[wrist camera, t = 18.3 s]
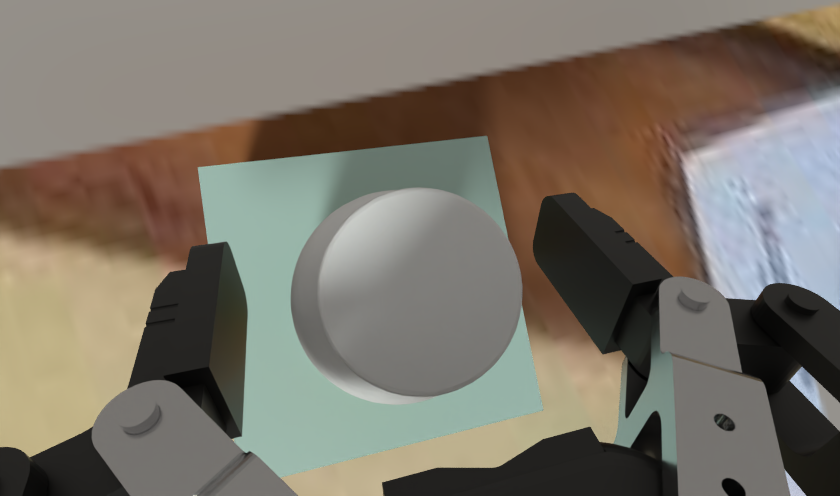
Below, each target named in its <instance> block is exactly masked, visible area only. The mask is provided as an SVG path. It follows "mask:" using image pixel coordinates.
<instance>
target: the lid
mask: <svg viewBox="0 0 840 496" xmlns="http://www.w3.org/2000/svg"><path fill="white" fill-rule="evenodd" d="M198 172H199V180H200V187H201V195H202V202H203V210H204V217H205V225H206V232H207V240H208V244H212V243H219V242H228V244H229V246H230V248H231V251H232V254H233V257H234V260H235V263H236V266H237V269H238V272H239V275H240V278H241V281H242V284H243V287H244V290H245V294H246V300H247V308H248V320H247V341H246V363H245V384H244V406H243V427H242V437H237V438H234V442H235V443H236V444H237V445H238V446H239V447H240V448H241V449H242V450H243V451H244V452H246V453H247V452H248V451H250V452H252V453H254V454H255V455H257V456H258V457H259V458H260V459H261V460H262V461H263V462H264V463H265V464H266V465H267V466H268V467H269V468H270V469H272V470H273V471H274V472H275V473H276V474H277V475H278V476H279V477H284V476H288V475H292V474H296V473H300V472H304V471H308V470H312V469H316V468H320V467H323V466H327V465H331V464H335V463H339V462H343V461H347V460H351V459H355V458H359V457H363V456H366V455H370V454H374V453H378V452H382V451H386V450H390V449H394V448H398V447H402V446H406V445H410V444H413V443H417V442H421V441H425V440H429V439H433V438H437V437H441V436H445V435H449V434H453V433H457V432H460V431H464V430H468V429H472V428H476V427H480V426H484V425H488V424H492V423H496V422H500V421H503V420H507V419H511V418H515V417H519V416H523V415H527V414H531V413H535V412H539V411H543V406H542V401H541V396H540V391H539V387H538V382H537V377H536V372H535V367H534V362H533V357H532V352H531V348H530V343H529V338H528V333H527V328H526V323H525V318H524V313H523V309H522V305H521V313H520V317H519V321H518V324H517V328H516V331H515V333H514V336H513V338H512V340H511V342H510V344H509V345H508V347H507V349H506V350H505V352H504V353H503V355H502V356H501V357H500V359H499V360H498V361H497V363H496V364H495V365H494V366H493V367H492V368H491V369H489V370H488V371H487V372H486V373H485V374H484V375H483V376H481V377H480V378H478V379H477V380H475V381H474V382H472V383H471V384H469V385H467V386H465V387H463V388H461V389H459V390H456V391H453V392H450V393H447V394H443V395H439V396H437V397H434V398H432V399H429V400H425V401H422V402H418V403H412V404H402V405H389V404H381V403H374V402H370V401H367V400H364V399H361V398H358V397H355V396H353V395H351V394H349V393H347V392H345V391H343V390H342V389H340V388H339V387H337V386H336V385H334V384H333V383H331V382H330V381H329V380H328V379H327V378H326V377H324V376H323V375H322V374H321V373H320V372H319V371H318V369H317V368H316V367H315V366H314V365H313V364H312V362H311V361H310V359H309V358H308V357H307V355H306V353H305V351H304V350H303V348H302V346H301V344H300V341H299V339H298V336H297V333H296V331H295V327H294V323H293V318H292V312H291V285H292V279H293V274H294V270H295V266H296V263H297V261H298V258H299V255H300V253H301V251H302V249H303V247H304V245H305V243H306V242H307V240H308V239H309V237H310V236H311V234H312V233H313V232H314V230H315V229H316V228H317V227H318V226H319V225H320V224H321V222H322V221H323V220H324V219H326V218H327V217H328V216H329V215H330V214H331V213H332V212H334V211H335V210H337V209H338V208H340V207H341V206H343V205H345V204H347V203H349V202H350V201H353V200H355V199H357V198H359V197H362V196H364V195H367V194H371V193H375V192H381V191H388V190H400V189H405V188H417V187H421V188H432V189H439V190H444V191H447V192H450V193H453V194H456V195H458V196H460V197H462V198H465V199H467V200H469V201H470V202H472V203H474V204H475V205H477V206H478V207H480V208H481V209H482V210H484V211H485V212H486V213H487V214H488V215H489V216H490V217H491V218H492V219H493V220H494V221H495V222H496V223H497V224H498V225H499V227H500V228H501V230H502V231H503V232H504V234H505V235H506V237H507V239H508V235H507V230H506V226H505V221H504V216H503V211H502V206H501V201H500V196H499V191H498V187H497V182H496V177H495V172H494V167H493V162H492V157H491V152H490V147H489V143H488V138H487V136H480V137H471V138H462V139H453V140H444V141H435V142H426V143H416V144H407V145H398V146H389V147H380V148H371V149H362V150H353V151H344V152H334V153H325V154H316V155H307V156H298V157H289V158H280V159H271V160H261V161H252V162H243V163H234V164H225V165H216V166H207V167H198Z"/></svg>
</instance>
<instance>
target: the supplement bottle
mask: <svg viewBox="0 0 840 496" xmlns="http://www.w3.org/2000/svg"><path fill="white" fill-rule="evenodd" d="M521 305H522V280H521V273H520V269H519V265H518V261H517V258H516V255H515V252H514V250H513V248H512V246H511V244H510V242H509V240H508V239H507V237H506V235H505V234H504V232H503V231H502V230H501V228H500V227H499V225H498V224H497V223H496V222H495V221H494V220H493V219H492V218H491V217H490V216H489V215H488V214H487V213H486V212H485V211H484V210H482V209H481V208H480V207H478V206H477V205H475V204H474V203H472V202H470V201H469V200H467V199H465V198H462V197H460V196H458V195H456V194H453V193H450V192H447V191H444V190H439V189H432V188H421V187H417V188H405V189H400V190H388V191H381V192H375V193H371V194H367V195H364V196H362V197H359V198H357V199H355V200H353V201H350V202H349V203H347V204H345V205H343V206H341V207H340V208H338V209H337V210H335V211H334V212H332V213H331V214H330V215H329V216H328V217H327V218H326V219H324V220H323V221H322V222H321V224H320V225H319V226H318V227H317V228H316V229H315V230H314V232H313V233H312V234H311V236H310V237H309V239H308V240H307V242H306V243H305V245H304V247H303V249H302V251H301V253H300V255H299V258H298V261H297V263H296V266H295V270H294V274H293V279H292V285H291V312H292V318H293V323H294V327H295V331H296V333H297V336H298V339H299V341H300V344H301V346H302V348H303V350H304V351H305V353H306V355H307V357H308V358H309V359H310V361H311V362H312V364H313V365H314V366H315V367H316V368H317V369H318V371H319V372H320V373H321V374H322V375H323V376H324V377H326V378H327V379H328V380H329V381H330V382H331V383H333V384H334V385H336V386H337V387H339V388H340V389H342V390H343V391H345V392H347V393H349V394H351V395H353V396H355V397H358V398H361V399H364V400H367V401H370V402H374V403H381V404H389V405H402V404H412V403H418V402H422V401H425V400H429V399H432V398H434V397H437V396H439V395H443V394H447V393H450V392H453V391H456V390H459V389H461V388H463V387H465V386H467V385H469V384H471V383H472V382H474V381H475V380H477V379H478V378H480V377H481V376H483V375H484V374H485V373H486V372H487V371H488V370H489V369H491V368H492V367H493V366H494V365H495V364H496V363H497V361H498V360H499V359H500V357H501V356H502V355H503V353H504V352H505V350H506V349H507V347H508V345H509V344H510V342H511V340H512V338H513V336H514V333H515V331H516V328H517V324H518V321H519V317H520V313H521Z"/></svg>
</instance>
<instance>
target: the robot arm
mask: <svg viewBox="0 0 840 496" xmlns="http://www.w3.org/2000/svg"><path fill="white" fill-rule="evenodd" d="M533 252H534V257H535V259H536V262H537V264H538V265H539V267H540V268H541V269H542V271H543V272H544V273H545V275H546V276H547V278H548V279H549V280H550V282H551V283H552V285H553V286H554V287H555V289H556V290H557V292H558V293H559V294H560V296H561V297H562V298H563V300H564V301H565V303H566V304H567V305H568V307H569V308H570V310H571V311H572V312H573V314H574V315H575V317H576V318H577V319H578V321H579V322H580V323H581V325H582V326H583V328H584V329H585V330H586V332H587V333H588V335H589V336H590V337H591V339H592V340H593V342H594V343H595V344H596V346H597V347H598V348H599V350H600V351H601V353H602V354H607V353H611V352H615V351H620V350H622V352H623V353H624V354H625V356H626V357H625V359H624V361H623V363H622V372H621V388H620V404H619V419H618V429H617V434H616V438H615V441H614V444H610V443H603V442H599V441H598V439H597V437H596V436H595V434H594V432H593V431H592V429H591V427H587V428H583V429H580V430H576V431H572V432H568V433H565V434H561V435H557V436H554V437H550V438H546V439H543V440H541V441H540V442H538V443H536V444H535V445H533V446H532V447H530V448H528V449H527V450H525V451H524V452H522V453H521V454H519V455H517V456H516V457H514V458H513V459H511V460H509V461H508V462H506V463H505V464H503V465H501V466H499V467H496V468H435V469H431V470H427V471H423V472H420V473H416V474H412V475H408V476H405V477H401V478H397V479H394V480H390V481H386V482H382V486H383V496H790V492H789V488H788V483H787V479H786V474H785V470H786V472H787V473H788V474H789V475H790V476H791V478H792V479H793V480H794V481H795V482H796V484H797V485H798V486H799V487H800V488H801V490H802V491H803V492H804V493H805V494H806V496H840V431H839V430H837V428H836V427H835V426H833V424H832V423H831V422H830V421H829V420H828V419H827V418H826V417H825V416H824V415H823V414H822V413H821V412H820V411H819V410H818V409H817V408H816V407H815V406H814V405H813V404H812V403H811V402H810V401H809V400H808V399H807V398H806V397H805V396H804V395H803V394H802V393H801V392H800V391H799V390H798V389H797V388H796V387H795V386H794V385H793V384H792V383H791V382H790V381H789V380H790V379H791V378H792V377H793V376H794V375H795V374H796V372H797V371H798V370H799V369H800V368H801V367H803V368H804V369H805V370H806V371H807V372H808V373H810V374H811V375H812V376H813V377H814V378H815V379H816V380H817V381H818V382H819V383H820V384H821V385H822V386H823V387H824V388H825V389H826V390H828V392H829V393H831V394H832V396H834V397H835V398H836V399H837V400H838V401H839V402H840V311H839V310H838V309H837V308H835V307H834V306H833V305H832V304H830V303H829V302H828V301H826V300H825V299H824V298H822V297H821V296H819V295H817V294H815V293H813V292H811V291H809V290H807V289H805V288H802V287H799V286H795V285H791V284H785V283H775V284H770V285H768V286H766V287H765V288H764V289H763V291H762V292H761V294H760V295H759V297H758V298H757V300H743V299H728V298H725V297H724V296H723V295H722V294H721V293H720V292H719V291H717V290H716V289H715V288H713V287H711V286H710V285H708V284H706V283H704V282H701V281H699V280H696V279H692V278H687V277H673V276H672V275H671V274H670V273H669V272H668V271H667V270H666V269H665V268H664V267H663V266H662V265H661V264H660V263H658V262H657V261H656V260H655V259H654V258H653V257H652V256H651V255H650V254H649V253H648V252H647V251H646V250H645V249H644V248H643V247H642V246H641V245H640V244H639V243H638V242H636V243H635V241H634V239H633V238H632V237H631V236H630V235H629V234H628V233H627V232H624V229H623V228H622V227H621V226H620V225H619V224H618V223H617V222H616V221H615V220H613V219H612V218H611V217H609V216H607V215H606V214H604V213H602V212H600V211H598V210H596V209H594V208H590V207H589V206H588V205H587V204H586V203H585V202H584V201H583V200H582V199H581V198H580V197H579V196H578V195H577V194H575V193H567V194H560V195H553V196H547V197H545V198H544V199H543V201H542V204H541V208H540V213H539V217H538V222H537V227H536V231H535V236H534V240H533ZM150 309H151V312H149V314H148V317H147V321H146V327H145V328H144V332H143V335H142V339H141V342H140V346H139V350H138V353H137V357H136V360H135V364H134V367H133V371H132V375H131V378H130V382H129V385H128V388H127V390H125V391H123V392H122V393H120V394H119V395H117V396H116V397H115V398H113V399H112V400H111V401H110V402H109V403H108V404H107V405H106V406H105V407H104V409H103V410H102V411H101V412H100V414H99V415H98V417H97V419H96V421H95V423H94V426H93V427H92V428H90V429H88V430H87V431H85V432H83V433H81V434H79V435H77V436H75V437H73V438H71V439H69V440H66V441H64V442H62V443H60V444H58V445H56V446H54V447H51V448H49V449H47V450H45V451H43V452H41V453H39V454H36V455H34V456H32V457H28V456H27V455H26V454H25V453H24V452H22V451H21V450H19V449H16V448H11V447H0V496H298V495H297V494H296V493H295V492H294V491H293V490H292V489H291V488H290V487H289V486H288V485H287V484H286V483H285V482H284V481H283V480H282V479H281V478H280V477H279V476H278V475H277V474H276V473H275V472H274V471H273V470H272V469H270V468H269V467H268V466H267V465H266V464H265V463H264V462H263V461H262V460H261V459H260V458H259V457H258V456H257V455H255V454H254V453H252V452H250V451H248V452H247V453H246V452H244V451H243V450H242V449H241V448H240V447H239V446H238V445H237V444H236V443H235V442H234V441H233V440H232V439H233V438H237V437H242V427H243V406H244V384H245V363H246V341H247V320H248V308H247V300H246V294H245V290H244V287H243V284H242V281H241V278H240V275H239V272H238V269H237V266H236V263H235V260H234V257H233V254H232V251H231V248H230V246H229V244H228V242H219V243H212V244H205V245H198V246H192V247H191V249H190V252H189V257H188V262H187V266H186V270H180V271H174V272H170V273H169V274H168V275H167V276H166V277H165V279H164V280H163V281H162V282H161V283H160V285H159V286H158V287H157V288H156V289H155V293H154V296H153V300H152V303H151V307H150ZM784 469H785V470H784Z"/></svg>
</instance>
